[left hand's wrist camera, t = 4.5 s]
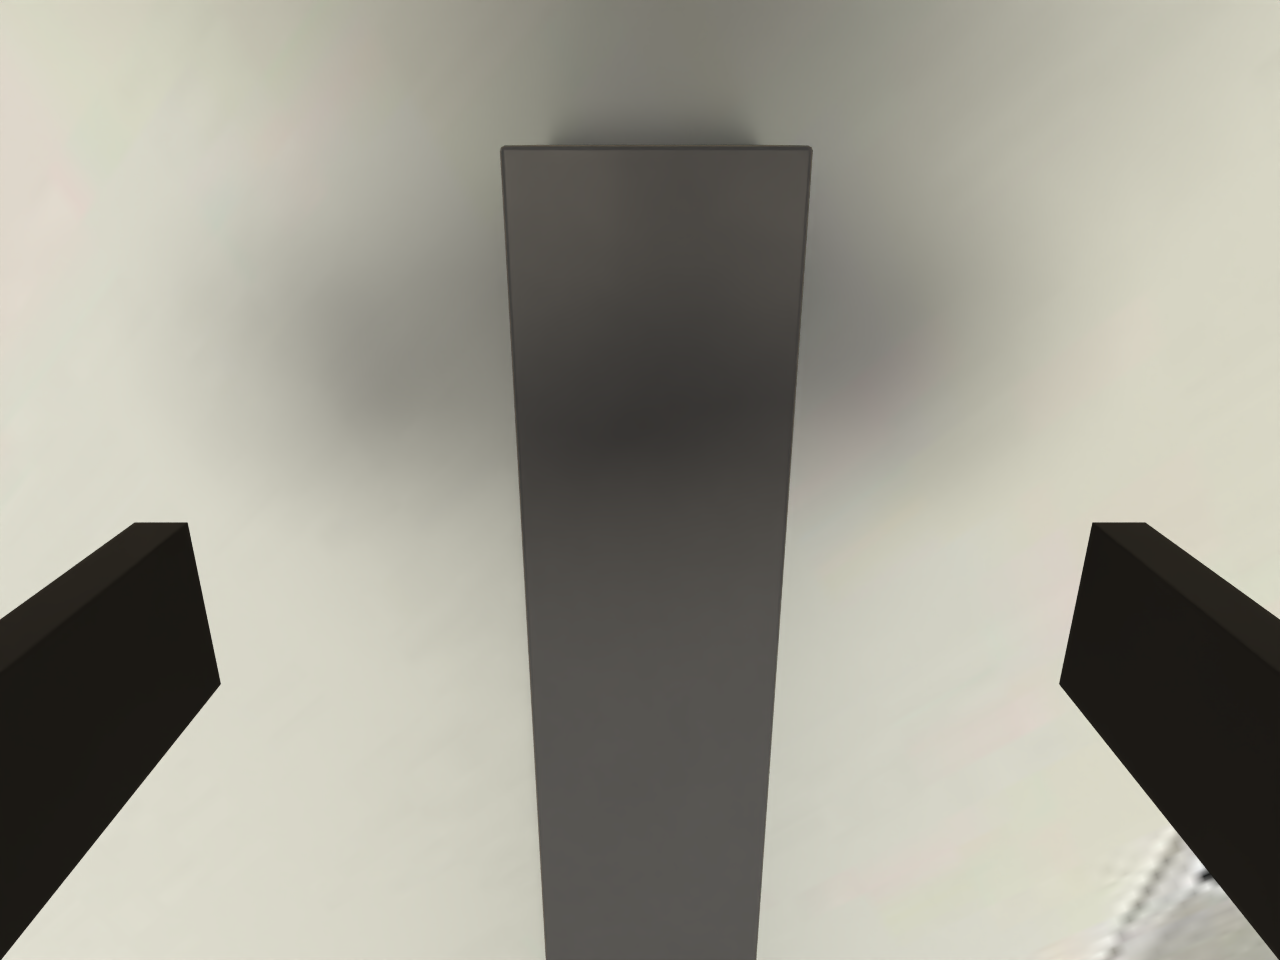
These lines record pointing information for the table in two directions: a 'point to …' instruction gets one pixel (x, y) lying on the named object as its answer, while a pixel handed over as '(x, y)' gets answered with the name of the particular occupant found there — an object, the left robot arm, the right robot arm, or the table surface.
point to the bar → (653, 525)
